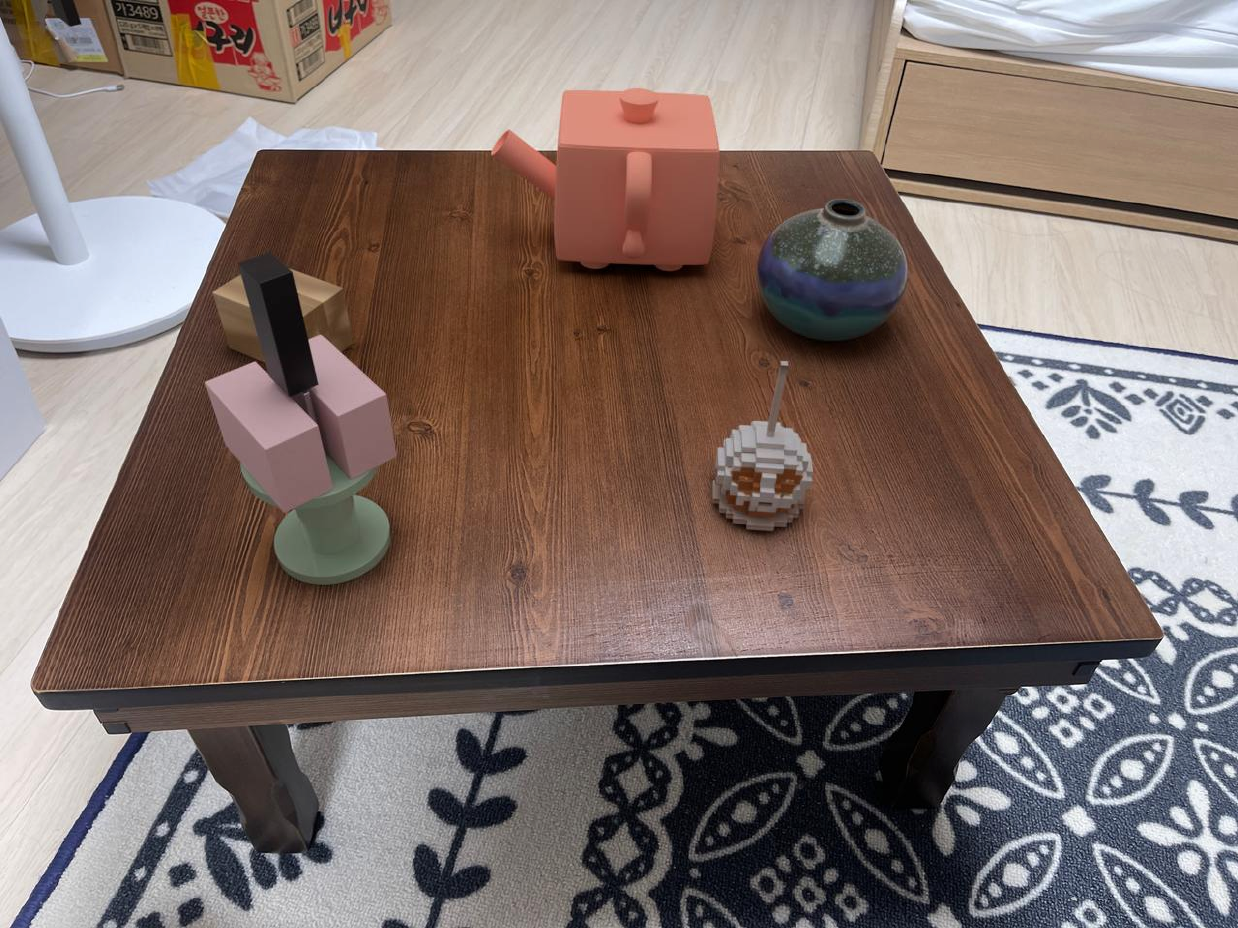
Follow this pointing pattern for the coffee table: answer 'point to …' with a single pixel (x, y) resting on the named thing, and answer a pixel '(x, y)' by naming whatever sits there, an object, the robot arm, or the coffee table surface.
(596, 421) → the coffee table surface
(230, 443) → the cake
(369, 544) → the cake stand
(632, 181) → the teapot
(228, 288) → the knife block
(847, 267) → the vase
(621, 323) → the coffee table surface
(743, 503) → the decorative ornament
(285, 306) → the knife
